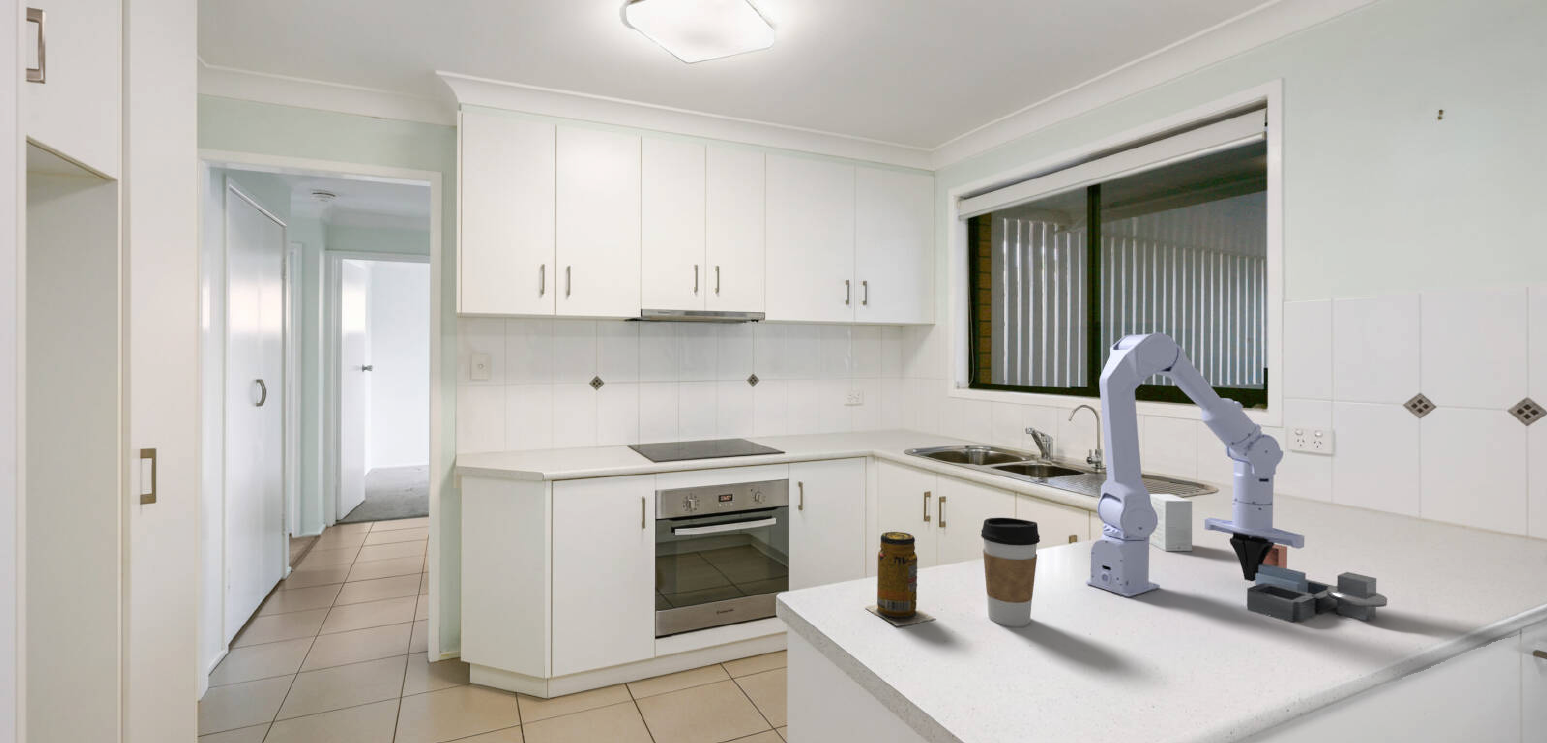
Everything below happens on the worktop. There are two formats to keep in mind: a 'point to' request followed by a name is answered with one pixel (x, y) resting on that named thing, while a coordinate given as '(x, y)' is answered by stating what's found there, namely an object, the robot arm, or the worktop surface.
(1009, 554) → the coffee cup
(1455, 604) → the worktop surface
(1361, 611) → the grey socket with disc
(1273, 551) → the reddish brown rectangular block
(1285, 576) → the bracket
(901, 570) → the condiment
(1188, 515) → the small box
